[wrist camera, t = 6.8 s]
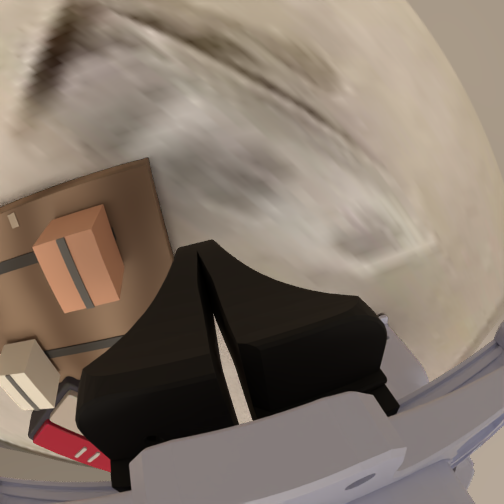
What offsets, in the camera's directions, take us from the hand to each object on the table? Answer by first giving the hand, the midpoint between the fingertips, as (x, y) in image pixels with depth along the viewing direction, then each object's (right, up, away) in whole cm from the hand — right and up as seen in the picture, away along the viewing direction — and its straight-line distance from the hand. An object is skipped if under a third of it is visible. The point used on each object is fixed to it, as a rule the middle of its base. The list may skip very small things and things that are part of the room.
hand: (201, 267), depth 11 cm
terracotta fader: (-7, +1, +3) cm, 7 cm away
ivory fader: (-13, -7, +6) cm, 16 cm away
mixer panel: (-10, -2, +7) cm, 12 cm away
